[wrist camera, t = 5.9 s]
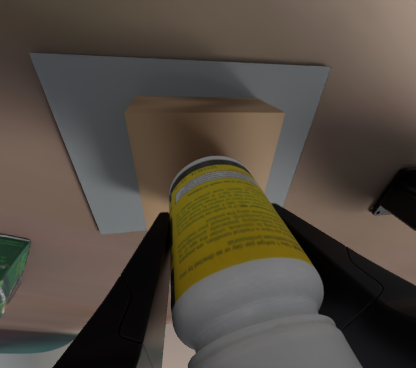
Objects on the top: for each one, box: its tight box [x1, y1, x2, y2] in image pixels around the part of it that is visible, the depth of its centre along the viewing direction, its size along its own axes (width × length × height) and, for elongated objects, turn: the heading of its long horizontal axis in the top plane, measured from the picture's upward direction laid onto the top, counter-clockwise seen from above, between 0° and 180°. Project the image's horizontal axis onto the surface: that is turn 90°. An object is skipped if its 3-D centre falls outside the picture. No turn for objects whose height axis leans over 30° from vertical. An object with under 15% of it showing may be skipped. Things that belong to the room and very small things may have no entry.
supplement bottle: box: [169, 156, 362, 368], centre depth 7 cm, size 5×5×8 cm
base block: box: [124, 96, 285, 232], centre depth 13 cm, size 8×8×4 cm
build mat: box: [29, 53, 331, 235], centre depth 16 cm, size 18×14×1 cm
